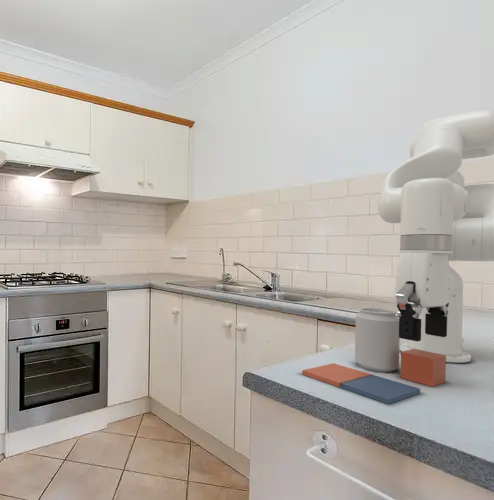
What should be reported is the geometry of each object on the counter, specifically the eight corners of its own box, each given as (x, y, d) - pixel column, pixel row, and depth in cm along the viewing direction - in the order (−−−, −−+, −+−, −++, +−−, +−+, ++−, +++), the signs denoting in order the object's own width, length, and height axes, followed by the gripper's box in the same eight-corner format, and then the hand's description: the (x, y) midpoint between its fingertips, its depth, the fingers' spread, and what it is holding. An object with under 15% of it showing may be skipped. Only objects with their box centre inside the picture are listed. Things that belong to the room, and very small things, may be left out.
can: (357, 359, 81) (358, 305, 81) (399, 366, 76) (400, 309, 76) (352, 367, 75) (353, 309, 75) (398, 376, 70) (399, 314, 70)
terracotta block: (413, 373, 72) (414, 348, 72) (445, 382, 67) (446, 355, 67) (400, 377, 69) (400, 351, 69) (432, 386, 65) (433, 358, 65)
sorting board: (333, 366, 75) (333, 362, 75) (420, 393, 62) (420, 388, 62) (302, 374, 71) (302, 370, 71) (388, 404, 57) (388, 399, 57)
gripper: (424, 247, 75) (422, 330, 75) (377, 244, 67) (375, 336, 67) (472, 247, 69) (469, 338, 68) (426, 243, 61) (424, 346, 60)
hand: (423, 337), depth 68 cm, fingers open, 9 cm apart
